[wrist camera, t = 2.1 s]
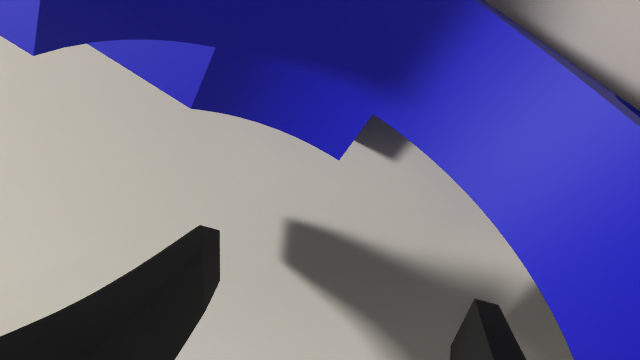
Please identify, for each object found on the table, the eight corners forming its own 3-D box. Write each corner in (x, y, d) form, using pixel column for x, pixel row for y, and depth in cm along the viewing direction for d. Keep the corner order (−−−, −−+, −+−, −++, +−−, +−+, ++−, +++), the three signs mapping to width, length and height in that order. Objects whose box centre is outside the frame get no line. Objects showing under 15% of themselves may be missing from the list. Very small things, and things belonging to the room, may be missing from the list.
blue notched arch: (158, 11, 11) (-73, 84, 6) (218, -189, 8) (-94, -349, 3) (522, 246, 12) (583, 473, 7) (669, 132, 10) (924, 359, 5)
